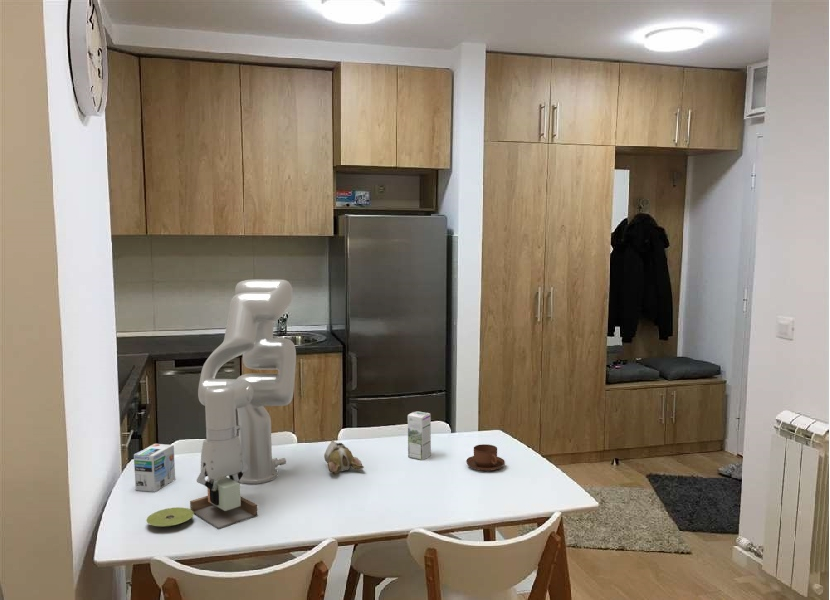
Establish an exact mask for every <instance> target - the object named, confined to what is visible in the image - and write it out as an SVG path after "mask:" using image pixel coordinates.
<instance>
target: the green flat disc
mask: <svg viewBox="0 0 830 600" xmlns="http://www.w3.org/2000/svg"><path fill="white" fill-rule="evenodd" d="M194 515H195V514H194V512H193V511H192V510H190V508H187V507H180V506H179V507H170V508H164V509H160V510H158V511H155V512H153V513H151V514H150V515H149V516H147V518H146V523H147V524H148V525H150V526H155V527H171V526H176V525H179V524H182V523H185V522H187V521H189V520H190V519H192V517H194Z"/></svg>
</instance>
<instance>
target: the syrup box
mask: <svg viewBox="0 0 830 600" xmlns="http://www.w3.org/2000/svg"><path fill="white" fill-rule="evenodd" d="M431 419H432V417H431V413H429V412H422V411H412V412H411V413H409V414H407V444H408V445H407V446H408V447H407V451H408V452H407V454H408V455H407V456H408V458H411V459H415V460H419V461H423V460H426V459H428V458H430V457H431V456H432V440H431V439H432V435H431V432H432V431H431V429H432V427H431V425H432V424H431V423H432V421H431Z"/></svg>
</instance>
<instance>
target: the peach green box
mask: <svg viewBox="0 0 830 600" xmlns="http://www.w3.org/2000/svg"><path fill="white" fill-rule="evenodd" d="M208 480H209V479H207V480H206V481H208ZM206 488H207V487H206ZM217 490H218V492H219V505H217V507H219V508H220V509H222V510H224V511H227V510H230V509H233V508H236V507H239V506H241V498H240V496H241V483H240V482H239V483H238V482H236V481H234V480H232V479H230V478H229V476H226V477H223V478H219V479H218V484H217ZM207 496H208V502H210V503H211V501H210V489H209V488H207ZM212 504H213V503H212ZM213 505H214V504H213ZM215 506H216V505H215Z"/></svg>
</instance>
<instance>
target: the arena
mask: <svg viewBox="0 0 830 600" xmlns="http://www.w3.org/2000/svg"><path fill="white" fill-rule="evenodd" d="M240 498H241V506H239V507H236V508H233V509H230V510H227V511H224V510H222V509H220V508H219V507H217V506H215V505H213V504H212V503H210V502H208V495H206V496H202V497H198V498H196V499H193V500H190V501H189V507H190V508H189V509H190V510H192V511H193V512H194V515H195V516H196V517H198V518H199V519H201V520H203V521H205V522H206V523H207V524H209V525H211V526H212V527H214V528H216V529H217V530H221V529H223V528H226V527H229V526H233V525H235V524H238V523H241V522H244V521H247V520H250V519H253V518H255V517H258V504H257V503H254V502H253V501H251V500H249V499H248V498H246V497H243V496H241V495H240Z"/></svg>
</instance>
